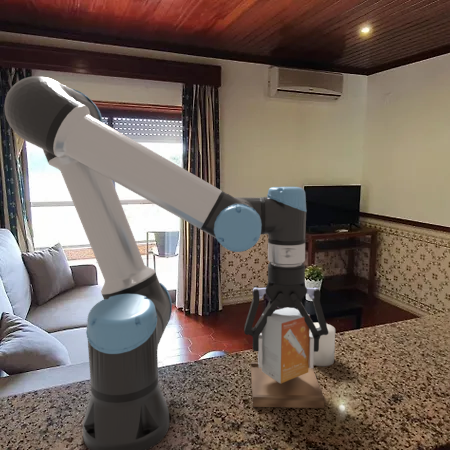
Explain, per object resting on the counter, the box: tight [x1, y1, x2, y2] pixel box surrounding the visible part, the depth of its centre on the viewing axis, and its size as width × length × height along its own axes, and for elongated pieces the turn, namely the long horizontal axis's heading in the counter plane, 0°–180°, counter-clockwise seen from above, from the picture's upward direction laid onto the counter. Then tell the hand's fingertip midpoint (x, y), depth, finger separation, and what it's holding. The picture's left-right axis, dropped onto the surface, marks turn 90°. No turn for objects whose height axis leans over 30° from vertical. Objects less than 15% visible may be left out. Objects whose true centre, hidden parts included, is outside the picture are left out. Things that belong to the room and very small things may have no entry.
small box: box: [261, 307, 311, 384], centre depth 83 cm, size 8×6×13 cm
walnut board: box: [250, 361, 326, 409], centre depth 84 cm, size 14×14×2 cm
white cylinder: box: [309, 322, 336, 367], centre depth 97 cm, size 7×9×8 cm
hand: (285, 364), depth 83 cm, fingers closed on small box, 10 cm apart
